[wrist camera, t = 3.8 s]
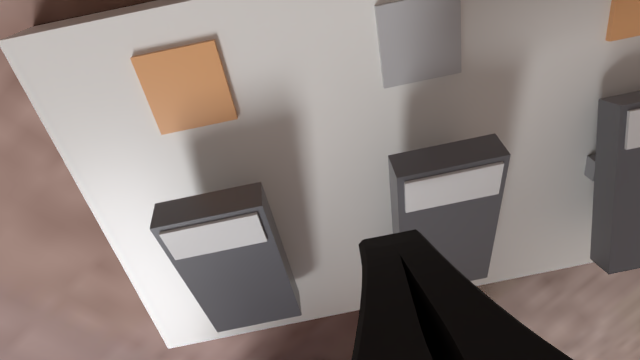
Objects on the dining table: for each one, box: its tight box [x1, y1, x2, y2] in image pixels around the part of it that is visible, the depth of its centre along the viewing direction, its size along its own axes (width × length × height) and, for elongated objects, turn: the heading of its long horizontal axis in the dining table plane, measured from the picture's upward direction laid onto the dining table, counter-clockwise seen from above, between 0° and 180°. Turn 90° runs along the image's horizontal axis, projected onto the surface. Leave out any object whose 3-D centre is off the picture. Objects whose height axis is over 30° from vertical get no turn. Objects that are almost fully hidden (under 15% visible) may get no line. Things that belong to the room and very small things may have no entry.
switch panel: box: [0, 0, 640, 349], centre depth 16 cm, size 13×23×2 cm, turn 100°
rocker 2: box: [388, 133, 511, 281], centre depth 14 cm, size 6×3×1 cm, turn 11°
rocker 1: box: [150, 182, 302, 332], centre depth 14 cm, size 6×3×1 cm, turn 11°
